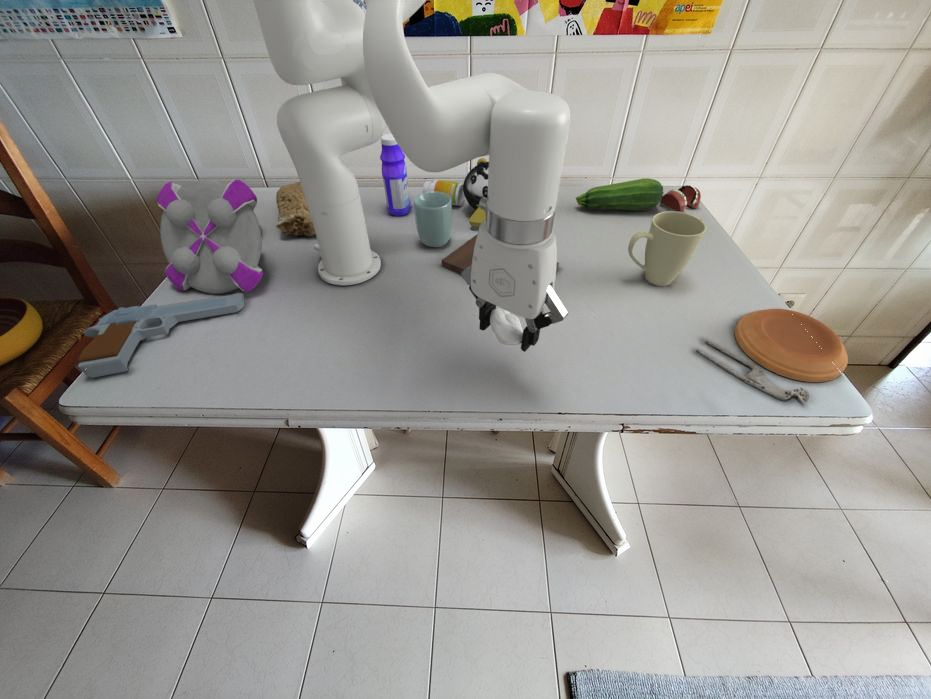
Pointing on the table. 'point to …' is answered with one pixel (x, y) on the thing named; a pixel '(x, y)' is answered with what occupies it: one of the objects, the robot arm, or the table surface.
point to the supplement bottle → (447, 190)
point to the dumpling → (506, 327)
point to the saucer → (791, 344)
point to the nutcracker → (759, 379)
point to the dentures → (682, 198)
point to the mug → (668, 245)
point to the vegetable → (623, 196)
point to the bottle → (394, 176)
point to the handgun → (142, 330)
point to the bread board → (463, 257)
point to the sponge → (293, 211)
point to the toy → (210, 236)
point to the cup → (433, 218)
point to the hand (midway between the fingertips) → (507, 334)
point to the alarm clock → (477, 190)
